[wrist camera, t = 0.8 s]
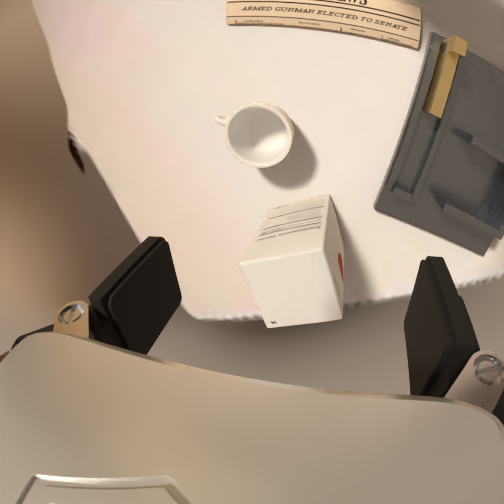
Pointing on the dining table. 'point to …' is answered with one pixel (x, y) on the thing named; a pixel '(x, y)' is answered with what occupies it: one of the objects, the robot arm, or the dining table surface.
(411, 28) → the newspaper
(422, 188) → the cradle
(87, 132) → the dining table surface
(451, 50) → the wooden block
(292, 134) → the teacup
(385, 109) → the dining table surface
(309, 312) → the supplement box
